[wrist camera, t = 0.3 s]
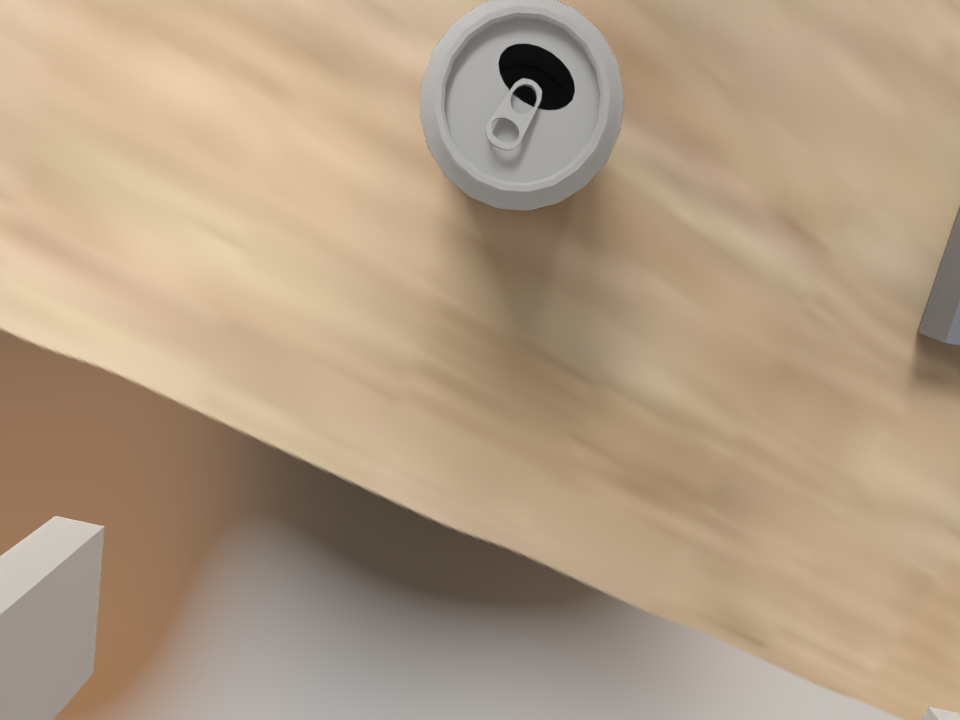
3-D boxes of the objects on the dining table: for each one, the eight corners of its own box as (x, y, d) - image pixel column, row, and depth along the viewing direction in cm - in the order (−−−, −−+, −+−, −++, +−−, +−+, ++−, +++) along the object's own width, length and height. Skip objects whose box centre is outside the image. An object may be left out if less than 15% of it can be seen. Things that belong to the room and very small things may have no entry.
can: (620, 101, 34) (676, 59, 23) (541, 229, 36) (555, 252, 24) (494, 18, 33) (484, -68, 22) (419, 154, 35) (374, 140, 24)
